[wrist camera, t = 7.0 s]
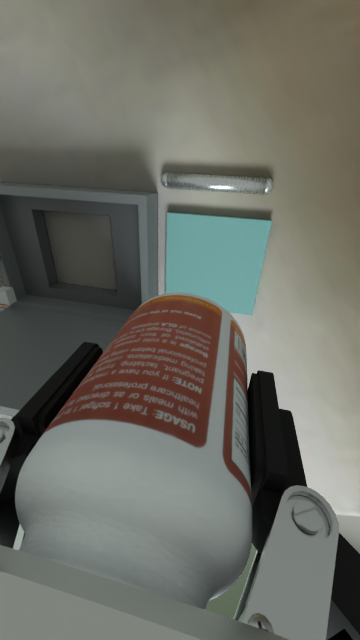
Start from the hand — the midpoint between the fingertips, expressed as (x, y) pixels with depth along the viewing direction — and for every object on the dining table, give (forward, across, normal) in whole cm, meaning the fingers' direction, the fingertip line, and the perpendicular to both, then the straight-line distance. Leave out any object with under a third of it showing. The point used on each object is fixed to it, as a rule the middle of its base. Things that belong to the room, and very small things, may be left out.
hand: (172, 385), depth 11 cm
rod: (+17, 0, -7) cm, 18 cm away
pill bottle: (+3, 0, 0) cm, 3 cm away
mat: (+17, 0, 0) cm, 17 cm away
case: (+17, +13, 0) cm, 21 cm away
